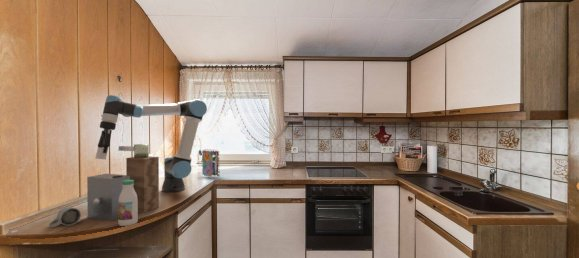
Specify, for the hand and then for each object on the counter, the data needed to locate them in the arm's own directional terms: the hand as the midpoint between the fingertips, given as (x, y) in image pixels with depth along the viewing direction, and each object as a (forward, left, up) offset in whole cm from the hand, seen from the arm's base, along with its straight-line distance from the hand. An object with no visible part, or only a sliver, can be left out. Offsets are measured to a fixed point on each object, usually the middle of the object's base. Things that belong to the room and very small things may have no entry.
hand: (100, 159), depth 155 cm
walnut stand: (-4, +26, -26) cm, 38 cm away
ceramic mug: (+27, +12, -27) cm, 40 cm away
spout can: (-4, +20, +2) cm, 20 cm away
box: (-94, +5, -27) cm, 98 cm away
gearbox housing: (+11, +21, -26) cm, 35 cm away
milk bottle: (+16, +39, -27) cm, 50 cm away
